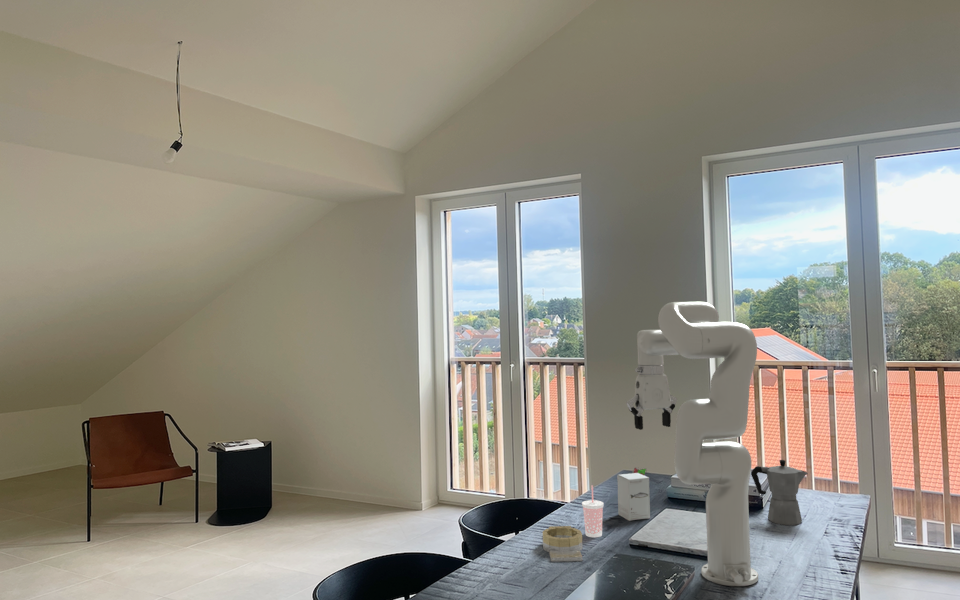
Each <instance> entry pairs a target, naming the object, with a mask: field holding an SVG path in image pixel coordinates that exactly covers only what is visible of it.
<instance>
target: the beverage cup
mask: <svg viewBox="0 0 960 600" xmlns="http://www.w3.org/2000/svg"><path fill="white" fill-rule="evenodd" d="M590 486H591V499H590V500H584V501H582V502H581V505H582V506H581V507H582V508H583V511H582V512H583V520H584V532H585V536H587V537H589V538H600V537H602V536H603V513H604V512H603V511H604V509H603V508H604V501H600V500H598V499H597V500H596V499H594V485H593V484H591V485H590Z"/></svg>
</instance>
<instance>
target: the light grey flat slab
mask: <svg viewBox="0 0 960 600" xmlns="http://www.w3.org/2000/svg"><path fill="white" fill-rule="evenodd" d="M552 537H558V538H568V537H572V536H566V535H557V536H552ZM542 548H543V551H545V552H548V553H549V557H550V558H549V559H550V562H554V563H555V562H558V563H559V562H583V559H584V558H583V555H582V553H581V551H582V550H583V548H584V547H583V541H582V542H581V543H580V544H579V545H575V546H571V547H556V546H550V545H548V544H546V543H544V542H543V541H542Z"/></svg>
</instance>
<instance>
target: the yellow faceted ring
mask: <svg viewBox="0 0 960 600" xmlns="http://www.w3.org/2000/svg"><path fill="white" fill-rule="evenodd" d="M557 535H566V536H572V537H568V538H558V537H552V536H557ZM543 542H544V543H546V544H548V545H550V546H556V547H571V546H575V545H579V544H580V543H581V542H582V543H583V533H582V531H581V530H580V529H578V528H576V527H572V526H571V525H567V526H566V525H562V526H561V525H560V526H557V525H555V526H554V525H553V526H552V525H551V526H549V527H548V528H545V529H544V530H542V543H543Z"/></svg>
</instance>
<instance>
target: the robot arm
mask: <svg viewBox="0 0 960 600" xmlns="http://www.w3.org/2000/svg"><path fill="white" fill-rule="evenodd" d="M657 318H658V319H657V320H658V323H657V324H658V327H659V329H641V330H639V331H638V332H637V334H636V340H637V341H636V342H637V345H636V346H637V367H635V368H634V371H635V373H637V375H636V378H635V383H634V395H633V396H632V397H631V398H630V399H628V400H627V401H626V402H625V403H626V405H627V408H628V410H629V412H630V413H631V414H632V416H634V417H633V418H634V420H633V421H634V428H635V429H636V430H640V431H641V430H644V419H643V418H644V417H643V416H642V414H643V412H644V411H646V410H647V411H648V410H649V411H650V410H651V411H652V410H659V409H660V410H662V411H663V412H662V413H661V421H662V422H661V423H662V426H664V427H666V428H669V427H670V428H671V421H672V420H671V414H672V413H673V410H674V409H675V407H676V404H677V401H678V398H677V397H676V396H674V395H672V394H671V391H670V390H671V389H670V385H669V380H668V376H667V374H665V365H664V362H665V361H664V356H681V357H682V358H685V359H691V360H697V359H718V358H724V360H723V361H722V362H721V363H720V364H719V365H718V367H716V370H715V371H714V373H713V374H712V376H711V380H710V391H709V395H708V397H706V398H696V399H695V398H694V399H693V398H692V399H688V400H686V401H684V402H683V403H682V404H681V405H680V406H679V409H678V410H677V413H676V421H675V422H676V423H675V439H674V440H675V441H674V469H675V470H674V471H675V473H676V476H677V478H678V480H679V481H680V482H681V483H683V484H684V485H689V486H698V485H711V486H710V487H709V490H708V492H707V494H706V496H705V497H706V498H705V518H706V519H705V521H706V542H707V543H706V544H707V545H706V546H707V547H706V548H707V550H706V551H707V563H706V564H704V565H702V566H701V571H700V573H701V576H702V577H703V578H704V579H706V580H707V581H708V582H709V581H710V582H711V583H714V584H718V585H722V586H729V587H746V586H748V587H749V586H752V585H754V584H756V583H757V582H758V581H759V573H758V572H757V570H755V569H754V568H752V567H751V561H752V560H751V541H750V540H751V538H750V536H751V535H750V517H749V516H750V515H749V511H750V510H749V507H750V506H749V487H750V486H749V485H750V480H751V479H750V478H751V471H752V456H751V453H750V452H749V450H748V449H747V447H746V446H745V445H744V444H741V443H739V442H737V441H731V440H730V441H728V440H726V439H736V438H739V437H741V436H743V435H744V434H745V433H746V430H747V425H748V419H749V418H748V415H749V403H750V400H749V399H750V386H751V380H752V376H753V372H754V369H755V367H756V366H755V365H756V362H757V356H758V344H757V339H756V338H757V337H755V333H754V332H753V330H752V329H751V328H750V327H749V326H747V325H746V324H744V323H740V322H735V321H734V322H733V321H719V318H720V316H719V312H718V310H717V309H716V308H715V306H714V305H712V304H710V303H708V302H706V301H697V300H696V301H673V302H672V301H671V302H668V303H666V304H664V305H663V306H662V307H661V308H660V310H659V313H658V317H657ZM634 405H635V407H634ZM714 440H716V441H714ZM717 440H724V441H717ZM704 441H708V442H704Z"/></svg>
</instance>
